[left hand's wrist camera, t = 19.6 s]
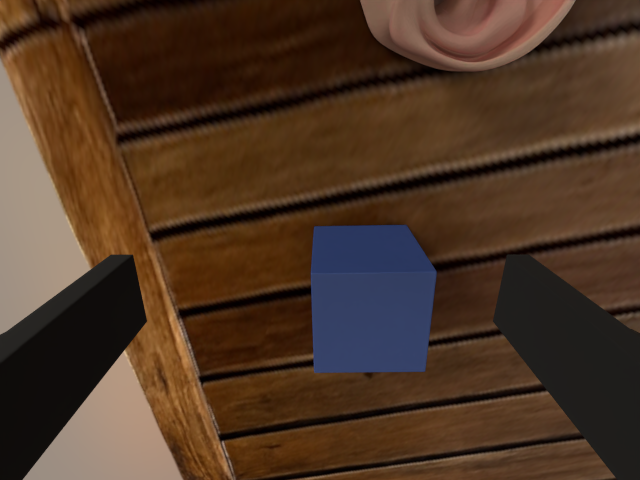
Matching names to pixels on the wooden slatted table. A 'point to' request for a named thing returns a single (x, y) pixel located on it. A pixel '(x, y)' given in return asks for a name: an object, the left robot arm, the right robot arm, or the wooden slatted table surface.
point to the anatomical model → (463, 29)
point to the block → (370, 299)
